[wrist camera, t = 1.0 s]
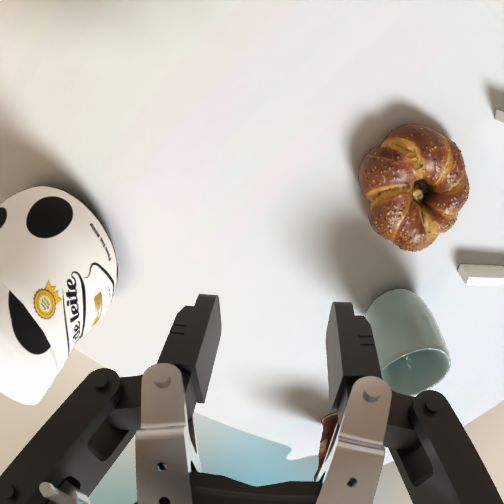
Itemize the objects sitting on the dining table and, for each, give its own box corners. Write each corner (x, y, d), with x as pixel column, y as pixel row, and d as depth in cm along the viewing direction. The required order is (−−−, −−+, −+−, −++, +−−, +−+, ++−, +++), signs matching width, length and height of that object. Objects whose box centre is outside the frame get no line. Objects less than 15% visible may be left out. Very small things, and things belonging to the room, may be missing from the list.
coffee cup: (344, 401, 44) (348, 477, 33) (375, 415, 46) (382, 482, 35) (305, 422, 48) (303, 490, 37) (337, 433, 50) (339, 496, 39)
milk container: (150, 297, 36) (86, 427, 21) (54, 302, 40) (-10, 395, 24) (94, 157, 28) (-44, 254, 12) (1, 195, 31) (-96, 274, 16)
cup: (406, 265, 30) (437, 334, 22) (432, 307, 33) (459, 373, 24) (346, 303, 34) (358, 376, 25) (378, 339, 36) (393, 407, 28)
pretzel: (453, 237, 28) (468, 257, 25) (357, 245, 30) (364, 267, 27) (463, 123, 22) (484, 132, 19) (353, 122, 24) (362, 130, 21)
